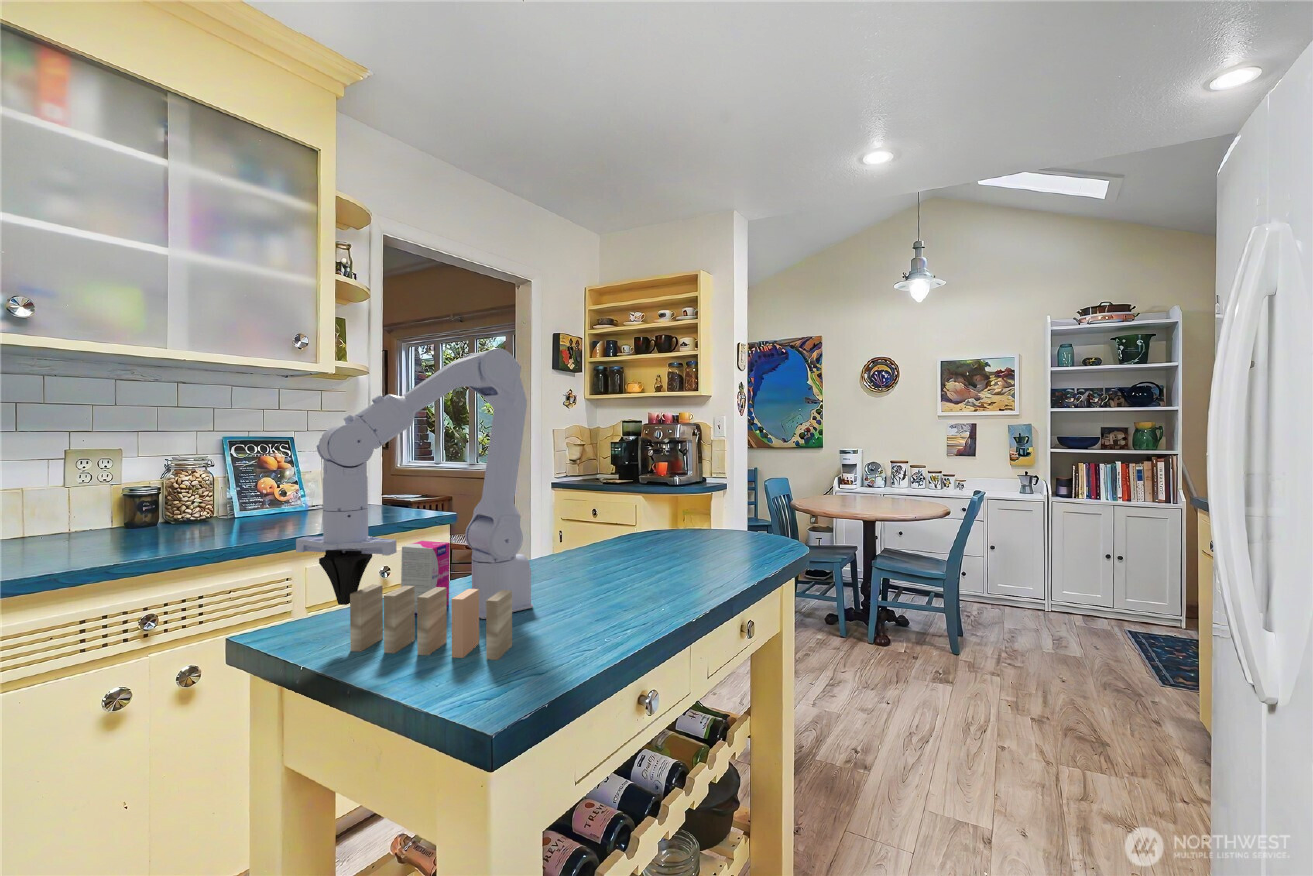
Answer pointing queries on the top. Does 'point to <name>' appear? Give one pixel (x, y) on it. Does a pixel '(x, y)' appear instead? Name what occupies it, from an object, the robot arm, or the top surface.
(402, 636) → the domino
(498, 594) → the domino
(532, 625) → the top surface
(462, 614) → the domino
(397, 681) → the top surface
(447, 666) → the top surface
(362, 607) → the domino
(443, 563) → the supplement box
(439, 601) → the domino
